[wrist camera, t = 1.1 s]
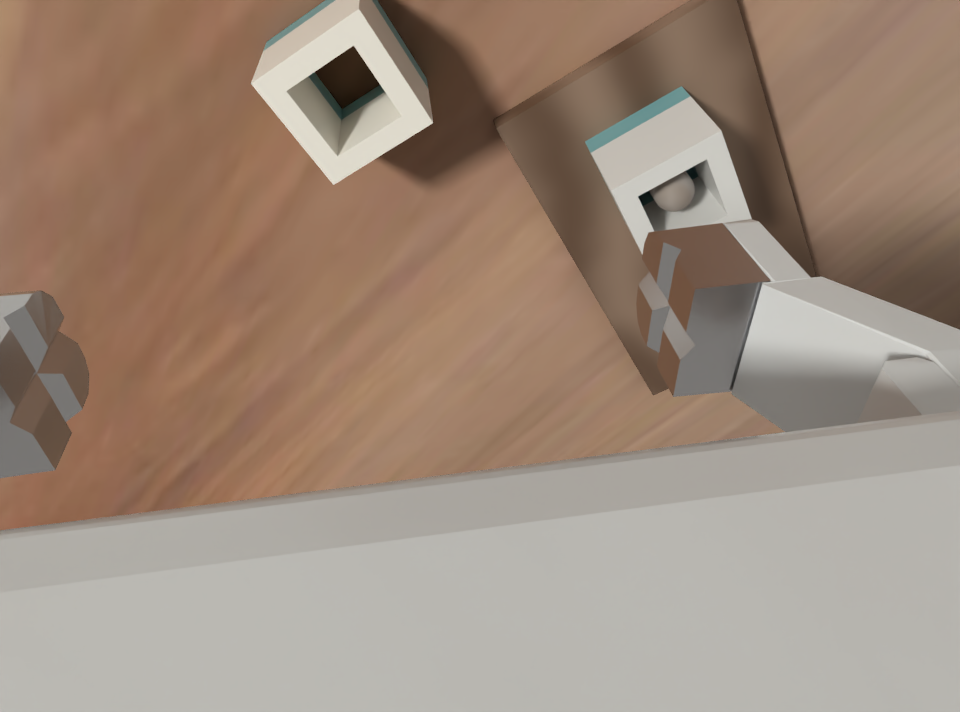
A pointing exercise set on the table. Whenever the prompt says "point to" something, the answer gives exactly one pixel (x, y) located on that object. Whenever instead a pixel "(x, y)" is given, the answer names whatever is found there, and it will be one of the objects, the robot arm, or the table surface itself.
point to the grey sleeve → (668, 166)
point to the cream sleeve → (310, 106)
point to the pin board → (595, 216)
